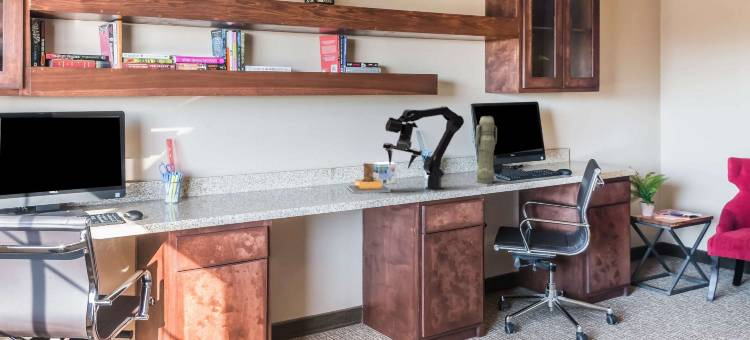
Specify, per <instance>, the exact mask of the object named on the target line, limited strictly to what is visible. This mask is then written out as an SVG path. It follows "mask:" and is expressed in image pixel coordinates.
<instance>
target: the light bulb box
mask: <svg viewBox="0 0 750 340" xmlns="http://www.w3.org/2000/svg"><path fill="white" fill-rule="evenodd" d="M372 163H373V179H378V180H380V181H381V182H382V185H387V184H395V183H396V165H397V164H396V162H392V161H391V165H389V161H381V162H372Z"/></svg>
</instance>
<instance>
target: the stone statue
mask: <svg viewBox="0 0 750 340" xmlns="http://www.w3.org/2000/svg"><path fill="white" fill-rule="evenodd" d="M497 140H498V128H497V125H495V120H494V117H493V116H491V115H484V116H480V120H479V124H478V125H477V126H476V129H475V145H477V151H478V156H477V157H478V160H477V161H478V163H477V165H478V167H477V169H476V178H477V179H476V183H477V184H483V185H484V184H486V185H488V184H491V185H492V184H494V182H495V181H494V179H495V167H494V153H495V152H494V151H495V147H496V144H498V141H497Z"/></svg>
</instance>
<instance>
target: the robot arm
mask: <svg viewBox="0 0 750 340" xmlns="http://www.w3.org/2000/svg"><path fill="white" fill-rule="evenodd" d="M437 116H442V117H443V118H444V119H445V120H446V123H445V125H446V127H445V131H444V133H443V134H442V136H441V139H440V140H439V142H438V144H437V145H436V148H435V150H434V152H433V153H432V155H430V156H429V155H427V156H426V158H425V161H423V166H422V167H423V170H424V172H425V174H426V175H427V180H426V181H427V182H426V183H427V185H426V187H425V188H426V189H429V190H441V189H444V187H442V178H443V177H444V174H445V173H444V171H442V169H441V165H442V159H443V156H444V154H445V152H446V151H447V149H448V146H450V143H451V142H452V139H453V137H454V135H455V134H456V133H457V132H458V131H459V130H461V128H462V127H463V125H464V123H465V120H464V117H463V116H462V115H459V114H457V113H456V112H454V111H453V110H451V109H450V108H449V107H448V106H443V105H442V106H439V107H432V108H425V109H404V110H403V112H402V114H401V115H400V116H399V117H398V118H394V117H392V116H391V117H389V118H388V120H387V121H386V123H385V131H386V132H390V133H394V134H398V133H399V137H398V140H397V141H396V145H394V144H393V143H391V142H390V143H389V142H383V145H382V148H383V149H385V151H386V152H387V155H388V162H389V165H391V162H392V158H393V150H396V151H401V152H405V153H411V156H410V159H409V162H408V166H407V169H410V167H411V165H413V162H414V160H415V159H416V158H419V157H422V155H423V150H422V149H418V148H413V149H412V142H413V141H412V135H413V131H414V128H416V129H417V128H419V126H418V125H417V123H416V121H419V120H421V119H424V118H429V117H437Z"/></svg>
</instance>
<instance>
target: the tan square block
mask: <svg viewBox="0 0 750 340" xmlns="http://www.w3.org/2000/svg"><path fill="white" fill-rule="evenodd" d="M373 163H374V162H364V163H363V179H364V182H367V181H373Z"/></svg>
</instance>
